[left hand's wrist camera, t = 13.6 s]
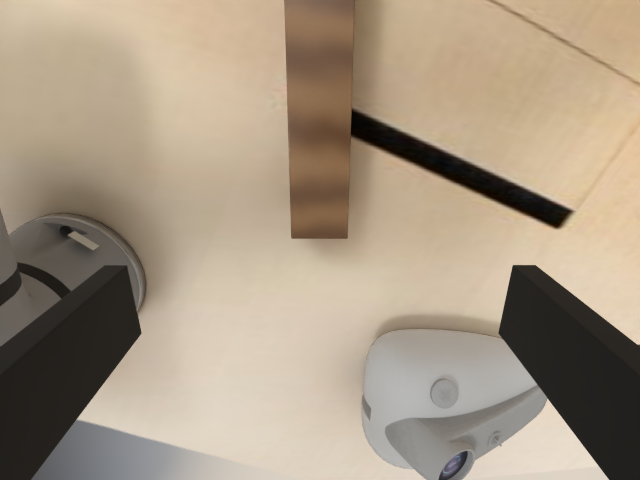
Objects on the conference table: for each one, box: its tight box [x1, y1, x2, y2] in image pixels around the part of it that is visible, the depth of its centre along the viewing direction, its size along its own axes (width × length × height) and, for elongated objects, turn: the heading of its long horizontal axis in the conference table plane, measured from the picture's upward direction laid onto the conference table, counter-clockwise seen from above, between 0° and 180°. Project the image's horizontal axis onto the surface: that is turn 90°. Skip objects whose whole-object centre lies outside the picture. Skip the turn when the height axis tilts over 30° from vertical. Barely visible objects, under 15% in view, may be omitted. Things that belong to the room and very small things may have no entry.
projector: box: [362, 329, 547, 480], centre depth 41 cm, size 22×23×15 cm
